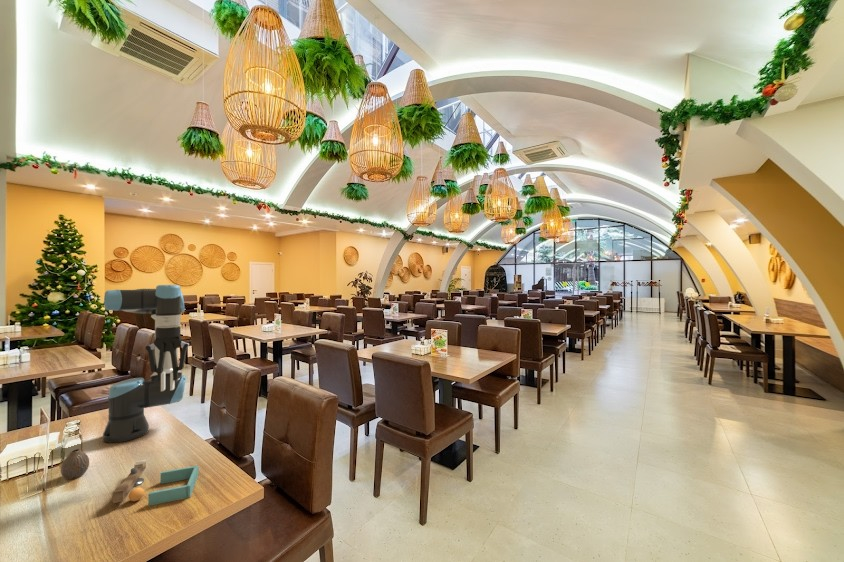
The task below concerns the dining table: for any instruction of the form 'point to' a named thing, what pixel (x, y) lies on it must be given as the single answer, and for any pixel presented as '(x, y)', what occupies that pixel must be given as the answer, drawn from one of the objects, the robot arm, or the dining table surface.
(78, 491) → the dining table surface
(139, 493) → the ball
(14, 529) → the dining table surface
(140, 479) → the pivot base
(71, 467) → the vase
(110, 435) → the robot arm
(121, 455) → the dining table surface
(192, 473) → the teal arch
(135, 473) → the lever
